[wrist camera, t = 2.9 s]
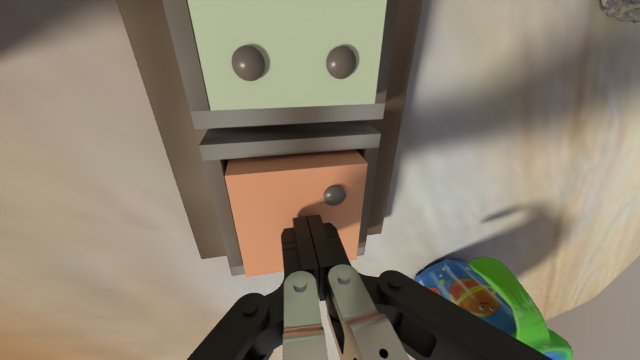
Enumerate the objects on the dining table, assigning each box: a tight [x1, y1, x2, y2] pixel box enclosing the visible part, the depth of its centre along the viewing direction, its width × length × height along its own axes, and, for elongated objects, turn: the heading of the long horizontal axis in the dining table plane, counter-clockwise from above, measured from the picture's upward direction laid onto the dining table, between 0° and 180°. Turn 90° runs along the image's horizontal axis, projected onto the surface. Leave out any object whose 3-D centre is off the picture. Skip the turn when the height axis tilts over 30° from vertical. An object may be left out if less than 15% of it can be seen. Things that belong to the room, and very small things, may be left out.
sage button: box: [187, 0, 387, 111], centre depth 10 cm, size 7×7×2 cm
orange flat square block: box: [225, 149, 368, 277], centre depth 15 cm, size 7×7×2 cm
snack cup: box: [414, 257, 573, 360], centre depth 24 cm, size 16×10×10 cm
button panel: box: [116, 0, 422, 276], centre depth 11 cm, size 14×30×4 cm, turn 179°
